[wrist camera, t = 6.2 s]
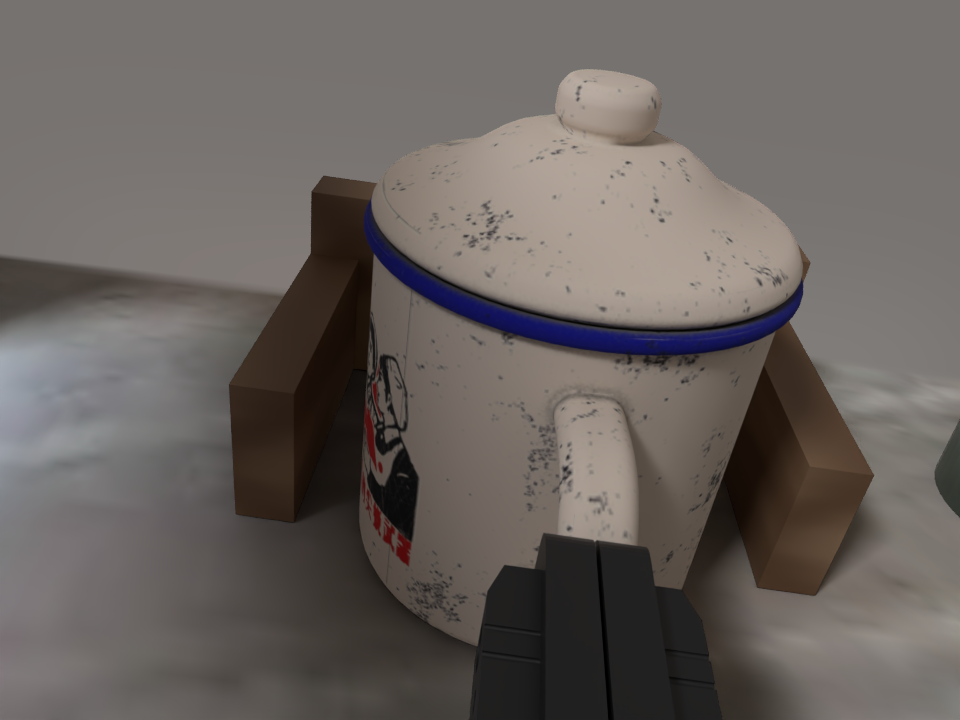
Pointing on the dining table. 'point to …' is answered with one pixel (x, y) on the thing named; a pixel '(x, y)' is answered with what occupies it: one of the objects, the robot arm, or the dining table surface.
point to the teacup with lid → (558, 345)
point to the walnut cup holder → (344, 346)
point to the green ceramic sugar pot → (950, 472)
